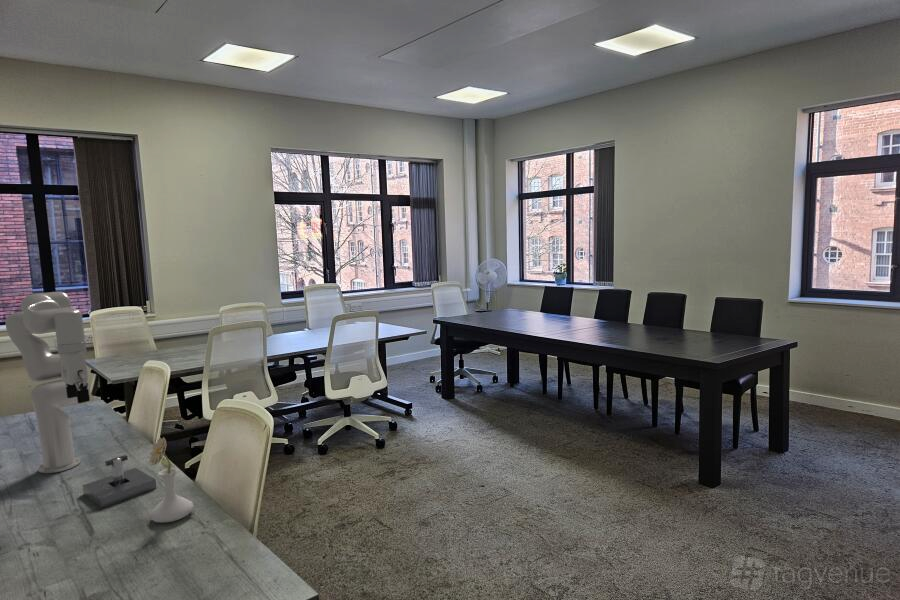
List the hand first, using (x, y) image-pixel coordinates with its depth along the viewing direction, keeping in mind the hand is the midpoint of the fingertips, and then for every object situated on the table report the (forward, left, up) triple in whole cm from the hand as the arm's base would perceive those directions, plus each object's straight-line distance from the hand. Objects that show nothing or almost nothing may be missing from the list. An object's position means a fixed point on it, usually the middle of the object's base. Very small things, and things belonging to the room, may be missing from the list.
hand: (78, 399), depth 178 cm
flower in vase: (+45, +7, -30) cm, 55 cm away
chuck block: (+12, +5, -30) cm, 33 cm away
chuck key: (+12, +5, -30) cm, 33 cm away
